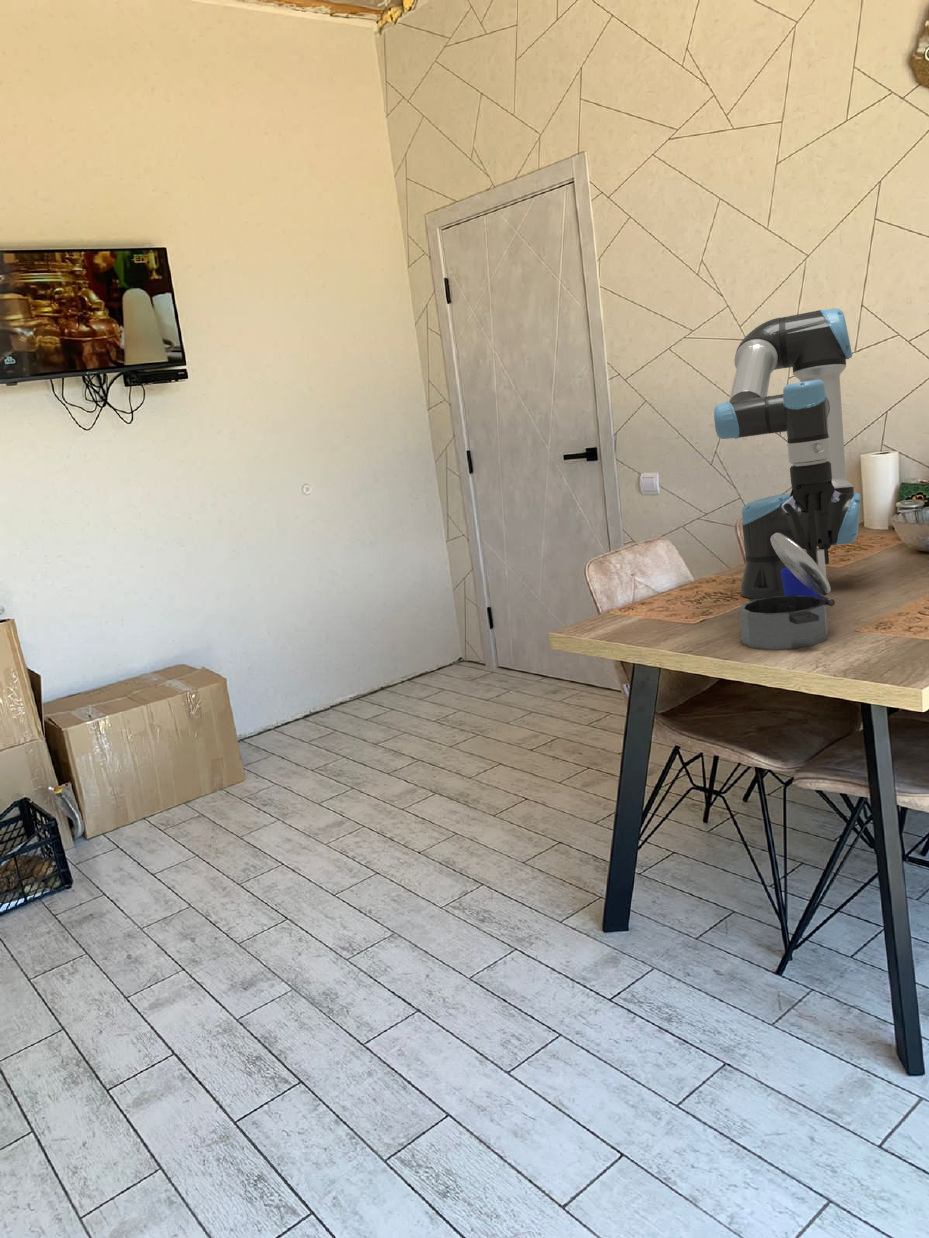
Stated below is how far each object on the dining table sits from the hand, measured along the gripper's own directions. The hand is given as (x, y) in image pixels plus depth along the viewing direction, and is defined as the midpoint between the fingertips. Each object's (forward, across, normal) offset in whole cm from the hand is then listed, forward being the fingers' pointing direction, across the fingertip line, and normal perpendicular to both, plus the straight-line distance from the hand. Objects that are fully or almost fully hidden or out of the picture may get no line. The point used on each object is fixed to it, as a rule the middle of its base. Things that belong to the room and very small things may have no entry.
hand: (820, 581), depth 185 cm
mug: (+11, +5, +19) cm, 22 cm away
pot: (+10, -8, 0) cm, 13 cm away
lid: (-4, -4, 0) cm, 6 cm away
